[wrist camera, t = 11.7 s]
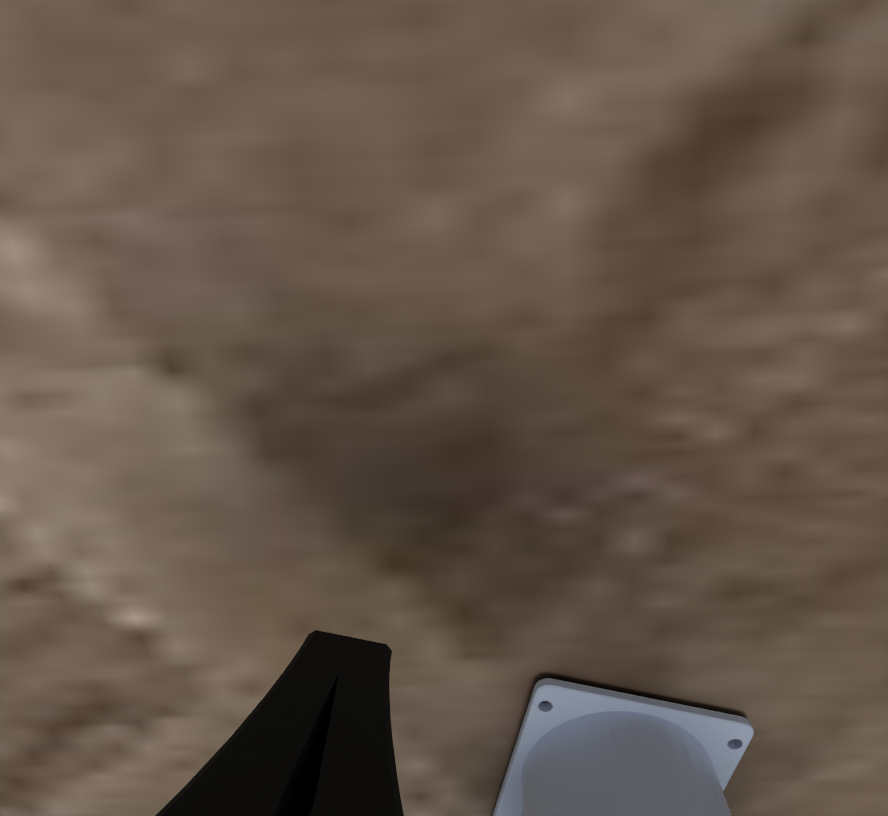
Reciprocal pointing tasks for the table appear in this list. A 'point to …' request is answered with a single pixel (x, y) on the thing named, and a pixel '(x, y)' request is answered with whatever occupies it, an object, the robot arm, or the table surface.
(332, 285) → the table surface
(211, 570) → the table surface
